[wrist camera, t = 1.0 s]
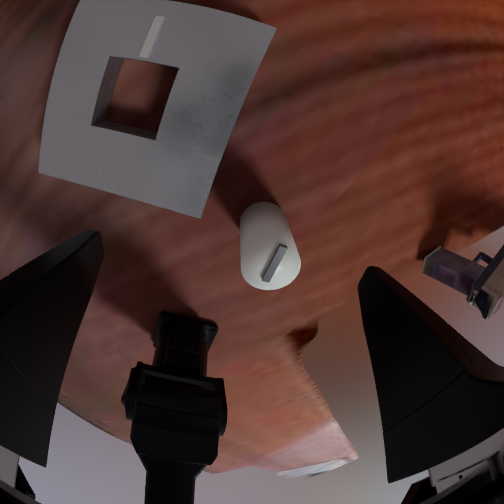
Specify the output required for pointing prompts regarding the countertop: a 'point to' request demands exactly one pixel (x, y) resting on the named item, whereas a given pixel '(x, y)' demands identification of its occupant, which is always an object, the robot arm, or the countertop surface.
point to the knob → (267, 247)
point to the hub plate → (177, 108)
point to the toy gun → (470, 277)
